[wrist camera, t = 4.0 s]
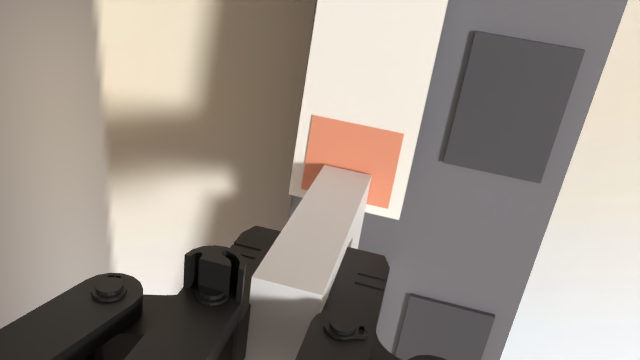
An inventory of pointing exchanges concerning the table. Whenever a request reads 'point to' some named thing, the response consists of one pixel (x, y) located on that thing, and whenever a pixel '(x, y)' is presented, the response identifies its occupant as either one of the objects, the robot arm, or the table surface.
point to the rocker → (367, 94)
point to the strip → (486, 170)
